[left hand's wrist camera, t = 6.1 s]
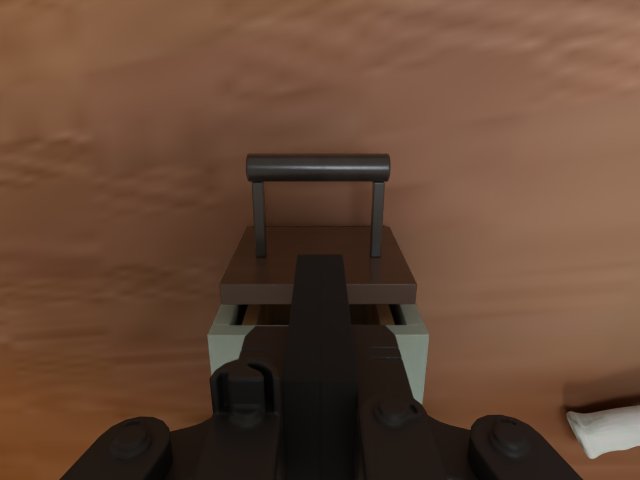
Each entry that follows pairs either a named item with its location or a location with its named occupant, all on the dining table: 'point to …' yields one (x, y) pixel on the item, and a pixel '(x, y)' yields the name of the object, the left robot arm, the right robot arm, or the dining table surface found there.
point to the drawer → (317, 245)
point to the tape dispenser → (606, 429)
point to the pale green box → (231, 332)
